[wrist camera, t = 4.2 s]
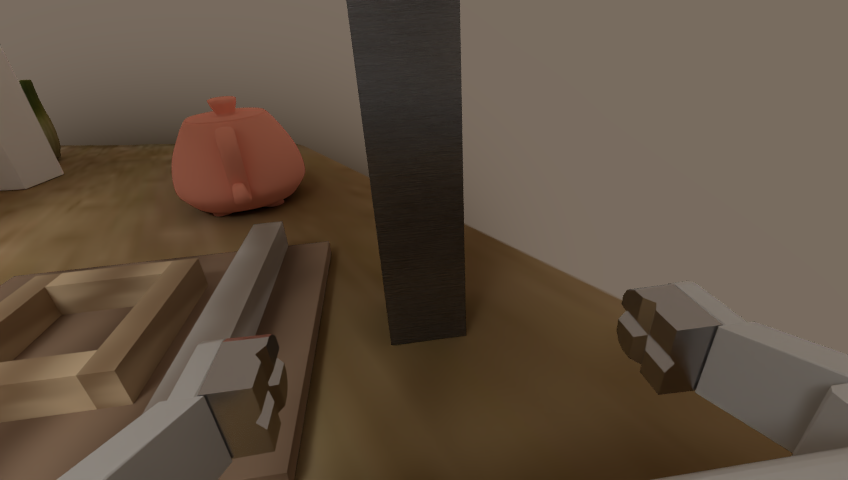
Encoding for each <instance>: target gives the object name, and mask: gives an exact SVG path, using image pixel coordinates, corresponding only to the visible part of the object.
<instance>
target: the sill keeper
mask: <svg viewBox="0 0 848 480" xmlns="http://www.w3.org/2000/svg"><path fill="white" fill-rule="evenodd" d="M330 259H331V248H330V243H329V241H327V242H318V243H309V244H300V245H291V246H288V243H287V238H286V234H285V230H284V226H283V222H282V221H281V222H272V223H263V224H254V225H253V227H252V228H251V230H250V232H249V233H248V235H247V237H246V238H245V240H244V242H243V244H242V245H241V247H240V249H239V250H238V251H237V252H228V253H219V254H210V255H201V256H192V257H183V258H174V259H165V260H156V261H147V262H138V263H129V264H120V265H111V266H102V267H93V268H84V269H75V270H66V271H57V272H48V273H39V274H30V275H21V276H14V277H12V278H11V279H9V280H8V281H6V282H5V283H3V284H2V285H1V286H0V480H57V479H58V478H59V477H61V476H62V475H63V474H65V473H66V472H67V471H69V470H70V469H71V468H73V467H74V466H75V465H77V464H78V463H79V462H80V461H82V460H83V459H84V458H86V457H87V456H88V455H90V454H91V453H92V452H94V451H95V450H96V449H98V448H99V447H100V446H102V445H103V444H104V443H105V442H107V441H108V440H109V439H111V438H112V437H113V436H115V435H116V434H117V433H119V432H120V431H121V430H123V429H124V428H125V427H127V426H128V425H129V424H130V423H132V422H133V421H134V420H136V419H137V418H138V417H140V416H141V415H142V414H144V413H145V412H146V411H148V410H149V409H150V408H152V407H153V406H154V405H155V404H157V403H158V402H161V401H167V399H168V398H169V396H170V394H171V392H172V390H173V389H174V387H175V385H176V383H177V381H178V379H179V378H180V376H181V374H182V372H183V370H184V368H185V367H186V365H187V363H188V361H189V359H190V357H191V356H192V354H193V352H194V350H195V348H196V347H197V345H198V344H200V343H201V342H203V341H211V340H220V339H227V338H236V337H246V336H256V335H265V334H273V335H275V336H276V339H277V342H278V345H279V347H280V348H279V352H278V356H277V358H278V359H279V360H281V361H282V362H284V364H285V368H286V372H287V379H288V391H287V399H286V404H285V407H284V408H283V409H282V410H281V411H280V412H279V413H278V415H279V418H280V421H281V427H280V431H279V436H278V440H277V445H276V449H275V452H269V453H263V454H258V455H252V456H246V457H241V458H235V459H232V463H231V464H230V465H229V466H228V468H227V469H226V470H225V471H224V473H223V474H222V475H221V476H220V478H219V479H218V480H294V479H295V473H296V466H297V460H298V454H299V448H300V442H301V436H302V430H303V424H304V418H305V411H306V405H307V399H308V393H309V387H310V381H311V375H312V369H313V362H314V356H315V350H316V344H317V338H318V332H319V326H320V320H321V314H322V307H323V301H324V295H325V289H326V283H327V277H328V271H329V265H330Z"/></svg>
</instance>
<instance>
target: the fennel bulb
mask: <svg viewBox="0 0 848 480" xmlns="http://www.w3.org/2000/svg"><path fill="white" fill-rule="evenodd" d="M19 82H20V84H21V87H22V90H23V92H24V94H25V96H26V98H27V100H28V102H29V104H30V106H31V108H32V110H33V112H34V114H35V116H36V118H37V120H38V122H39V124H40V126H41V128H42V130H43V132H44V134H45V136H46V138H47V140H48V142H49V144H50V146H51V148H52V150H53V152H54V154H55V156H56V158H59V157H60V156H61V154H60V148H61V147H60V143H59V139H58V136H57V133H56V130H55V128H54V126H53V124H52V122H51V120H50V118H49V116H48V115H47V114H46V111H45V110H44V108H43V106H42V104H41V102H40V100H39V98H38V95H37V93H36V91H35V89H34V86H33V83H32V82H31V80H20V81H19Z"/></svg>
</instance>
